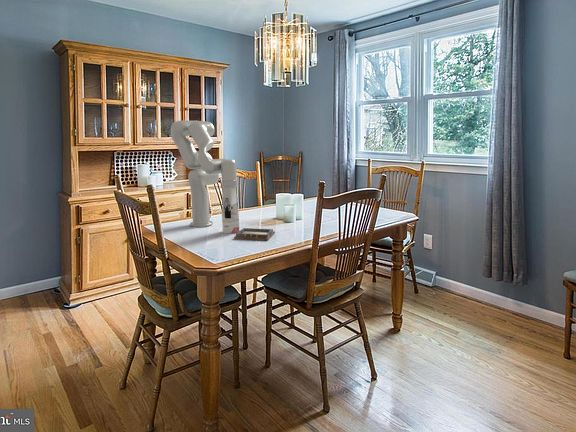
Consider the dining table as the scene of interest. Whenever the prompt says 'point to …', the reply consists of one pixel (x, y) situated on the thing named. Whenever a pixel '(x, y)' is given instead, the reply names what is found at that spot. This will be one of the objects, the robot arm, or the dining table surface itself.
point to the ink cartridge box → (231, 220)
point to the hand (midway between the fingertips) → (231, 216)
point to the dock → (254, 234)
